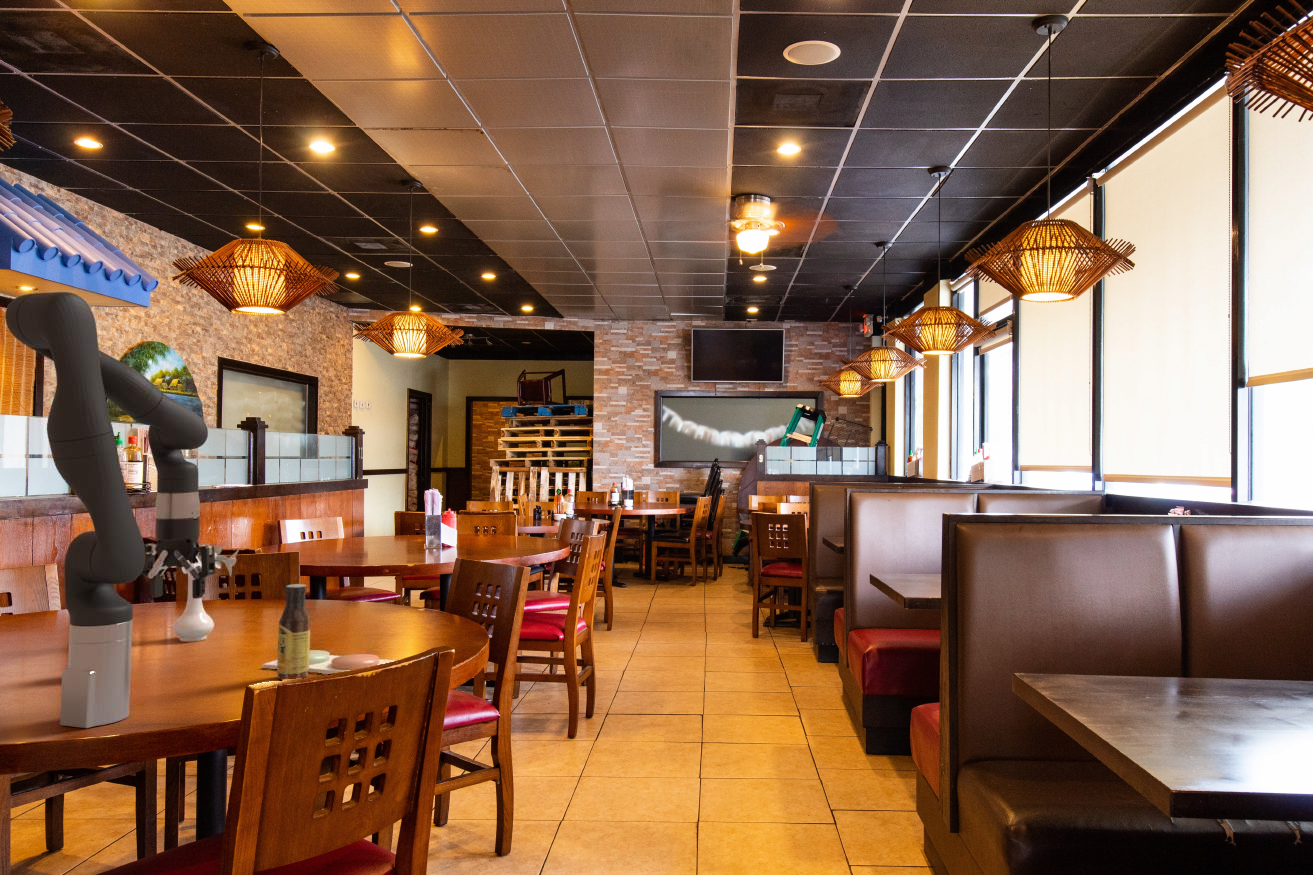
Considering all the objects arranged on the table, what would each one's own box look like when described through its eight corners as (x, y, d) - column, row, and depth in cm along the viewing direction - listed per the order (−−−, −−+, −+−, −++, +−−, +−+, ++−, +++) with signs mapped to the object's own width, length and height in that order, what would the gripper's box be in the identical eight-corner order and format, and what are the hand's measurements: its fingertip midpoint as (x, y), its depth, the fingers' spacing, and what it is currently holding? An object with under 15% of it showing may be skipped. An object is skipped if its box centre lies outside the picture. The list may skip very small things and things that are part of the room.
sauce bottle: (276, 676, 174) (279, 583, 175) (308, 673, 176) (311, 582, 177) (276, 683, 168) (279, 587, 169) (309, 680, 171) (312, 586, 171)
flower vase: (240, 638, 211) (244, 542, 212) (159, 647, 199) (163, 546, 201) (228, 630, 221) (231, 539, 222) (150, 639, 209) (154, 542, 210)
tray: (364, 677, 173) (364, 667, 174) (262, 668, 180) (263, 658, 180) (395, 664, 185) (396, 655, 185) (299, 656, 192) (299, 647, 192)
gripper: (130, 516, 156) (129, 600, 156) (199, 517, 154) (198, 602, 154) (157, 512, 163) (157, 592, 163) (224, 513, 162) (223, 594, 162)
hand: (177, 597), depth 159 cm, fingers open, 8 cm apart
